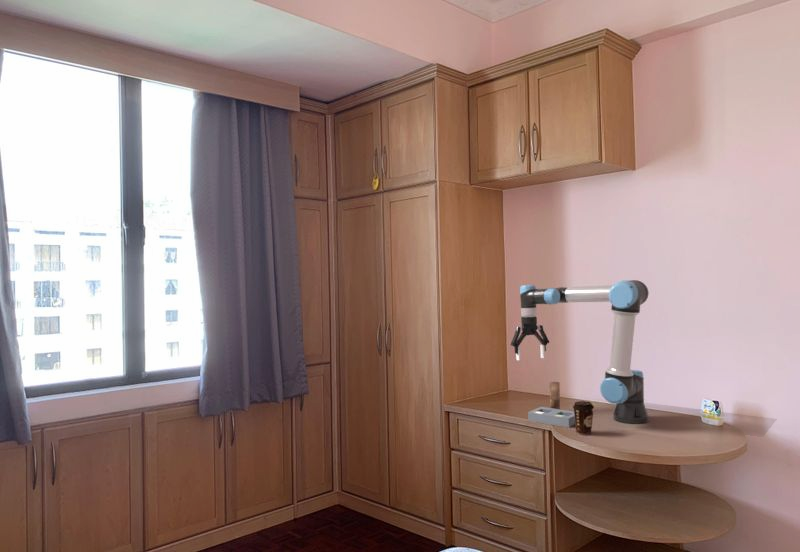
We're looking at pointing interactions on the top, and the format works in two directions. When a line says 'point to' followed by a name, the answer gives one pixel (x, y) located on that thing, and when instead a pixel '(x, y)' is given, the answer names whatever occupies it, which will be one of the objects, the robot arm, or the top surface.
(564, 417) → the socket block
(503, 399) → the top surface
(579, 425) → the coffee cup
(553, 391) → the walnut plug
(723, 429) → the top surface
